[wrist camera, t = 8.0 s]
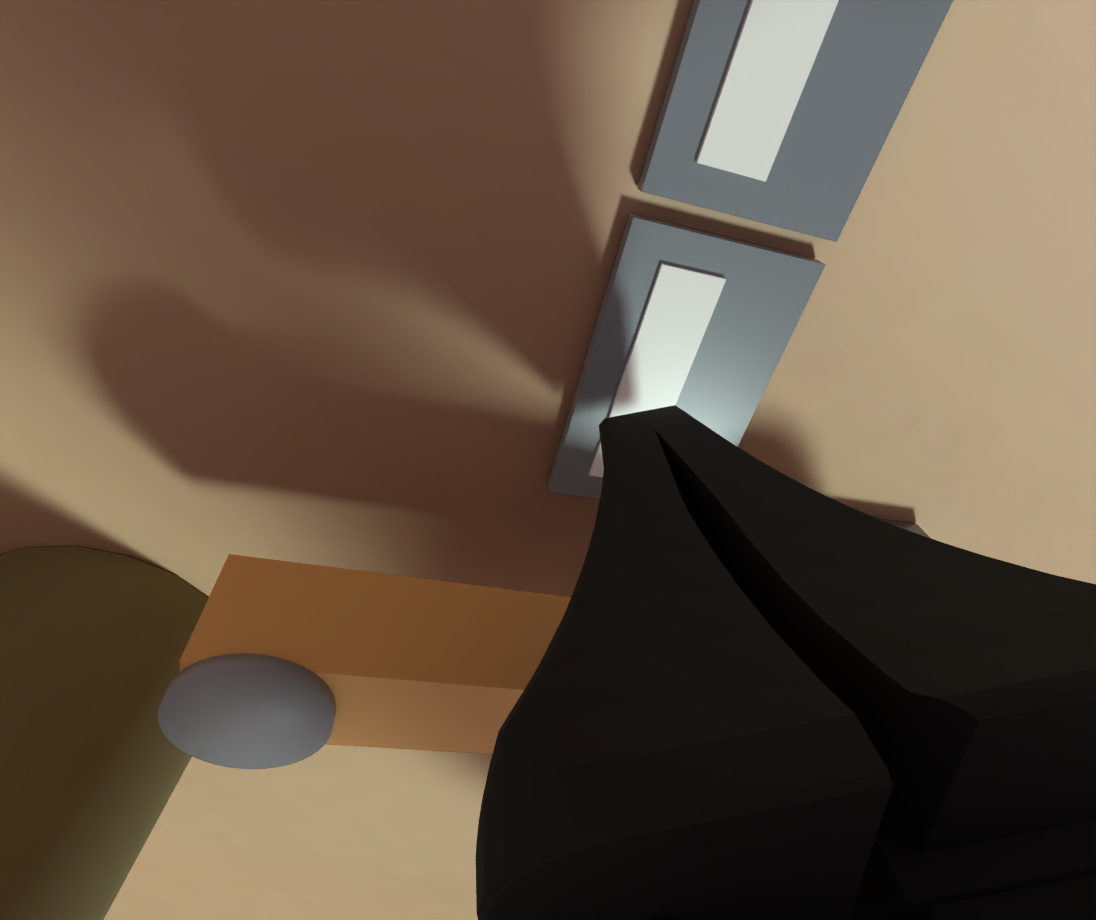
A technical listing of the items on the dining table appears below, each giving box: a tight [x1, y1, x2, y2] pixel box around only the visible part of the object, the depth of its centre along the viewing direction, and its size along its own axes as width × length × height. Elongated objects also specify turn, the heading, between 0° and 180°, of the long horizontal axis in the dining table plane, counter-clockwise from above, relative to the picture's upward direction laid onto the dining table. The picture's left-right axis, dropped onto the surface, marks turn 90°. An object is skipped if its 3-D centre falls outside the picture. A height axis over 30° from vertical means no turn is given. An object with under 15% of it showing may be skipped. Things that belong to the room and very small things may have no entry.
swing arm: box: [158, 554, 571, 769], centre depth 12 cm, size 14×3×2 cm, turn 74°
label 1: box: [637, 0, 953, 242], centre depth 9 cm, size 6×4×1 cm, turn 166°
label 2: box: [548, 213, 825, 499], centre depth 12 cm, size 6×4×1 cm, turn 166°
